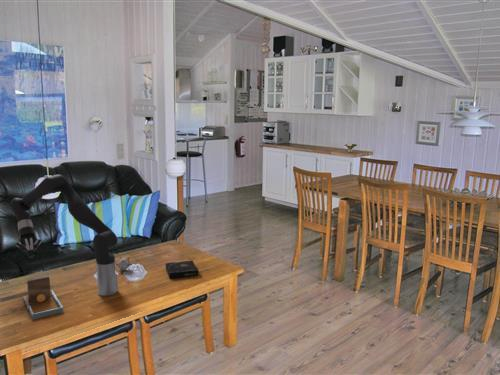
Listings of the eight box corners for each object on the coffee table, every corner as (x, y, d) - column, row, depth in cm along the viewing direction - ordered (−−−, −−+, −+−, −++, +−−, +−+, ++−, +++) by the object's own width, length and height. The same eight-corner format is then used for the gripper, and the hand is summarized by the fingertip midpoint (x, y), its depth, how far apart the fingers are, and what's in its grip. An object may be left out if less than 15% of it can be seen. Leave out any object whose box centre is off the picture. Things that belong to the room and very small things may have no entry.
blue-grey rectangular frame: (28, 310, 215) (28, 305, 214) (58, 303, 222) (58, 298, 222) (32, 319, 206) (32, 314, 205) (63, 312, 213) (63, 307, 213)
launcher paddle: (28, 299, 226) (26, 279, 223) (49, 294, 231) (48, 275, 229) (29, 301, 223) (27, 281, 221) (50, 296, 229) (49, 276, 226)
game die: (125, 277, 264) (121, 269, 257) (115, 270, 268) (111, 261, 260) (136, 267, 269) (132, 258, 261) (126, 260, 272) (123, 251, 265)
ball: (47, 300, 226) (46, 293, 225) (42, 303, 222) (41, 296, 221) (40, 299, 226) (39, 292, 225) (35, 303, 222) (34, 295, 222)
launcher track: (23, 299, 227) (23, 296, 226) (52, 292, 234) (52, 290, 234) (28, 311, 214) (28, 308, 213) (59, 304, 221) (59, 301, 221)
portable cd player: (192, 266, 275) (192, 260, 274) (197, 276, 259) (197, 270, 258) (165, 269, 269) (165, 262, 269) (169, 279, 254) (169, 273, 253)
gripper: (12, 227, 238) (18, 256, 230) (39, 224, 245) (45, 251, 238) (12, 234, 243) (17, 262, 236) (38, 231, 250) (44, 258, 243)
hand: (31, 257), depth 237 cm, fingers closed
